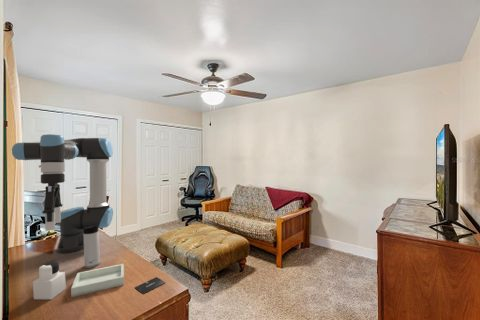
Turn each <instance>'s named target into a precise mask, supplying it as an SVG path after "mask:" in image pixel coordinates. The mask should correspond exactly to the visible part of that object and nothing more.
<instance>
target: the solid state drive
mask: <svg viewBox="0 0 480 320" xmlns="http://www.w3.org/2000/svg"><path fill="white" fill-rule="evenodd" d="M165 284H166V282H165V281H164V280H162V279H160V278H159V277H157V276H156V277H154V278H152V279H150V280H147V281H145V282H143V283H141V284H139V285H137V286H135V287H134V289H135V290H136V291H137V292H138V293H141V294H142V295H144V294H147V293H149V292H151V291H153V290H155V289H157V288H158V287H161V286H163V285H165Z"/></svg>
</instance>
